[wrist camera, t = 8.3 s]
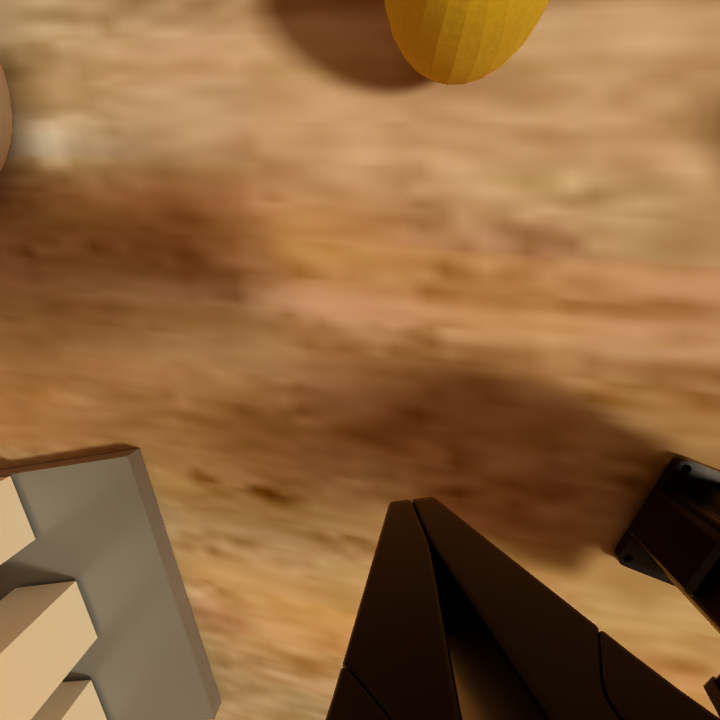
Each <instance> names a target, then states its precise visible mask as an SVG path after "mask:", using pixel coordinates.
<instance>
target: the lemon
mask: <svg viewBox="0 0 720 720" xmlns="http://www.w3.org/2000/svg"><path fill="white" fill-rule="evenodd" d="M384 1H385V9H386V13H387V17H388V21H389V25H390V29H391V32H392V36H393V38H394V40H395V42H396V44H397V46H398V48H399V50H400V51H401V53H402V55H403V57H404V59H405V60H406V61H407V62H408V63H409V64H410V65H411V66H412V67H413V68H414V69H415V70H416V71H417V72H418V73H419V74H421V75H423V76H424V77H426V78H428V79H430V80H431V81H435V82H438V83H442V84H446V85H453V84H465V83H468V82H472V81H475V80H478V79H481V78H483V77H485V76H486V75H488V74H490V73H491V72H493V71H495V70H496V69H498V68H499V67H501V66H502V65H503V64H504V63H505V62H506V61H507V60H508V59H509V58H510V57H511V56H512V55H513V54H514V53H515V52H516V51H517V50H518V49H519V48H520V47H521V46H522V45H523V43H524V42H525V41H526V39H527V38H528V36H529V35H530V33H531V32H532V30H533V28H534V27H535V25H536V24H537V22H538V21H539V19H540V17H541V16H542V14H543V12H544V10H545V8H546V6H547V4H548V1H549V0H384Z"/></svg>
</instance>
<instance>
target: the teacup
mask: <svg viewBox="0 0 720 720" xmlns="http://www.w3.org/2000/svg"><path fill="white" fill-rule="evenodd" d="M12 122H13V120H12V107H11V99H10V94H9V90H8V85H7V81H6V78H5V75H4V72H3V69H2V66H1V64H0V171H1V169H2V167H3V165H4V163H5V161H6V157H7V154H8V151H9V147H10V142H11V138H12Z"/></svg>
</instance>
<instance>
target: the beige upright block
mask: <svg viewBox="0 0 720 720" xmlns="http://www.w3.org/2000/svg"><path fill="white" fill-rule="evenodd" d="M34 540H35V537H34V534H33V532H32V529H31V527H30V524H29V522H28V519H27V517H26V514H25V511H24V509H23V506H22V504H21V501H20V499H19V496H18V494H17V491H16V489H15V486H14V484H13V481H12V479H11V476H7V477H1V478H0V565H1V564H2V563H4V562H5V561H7V560H8V559H9V558H11V557H12V556H13V555H15V554H16V553H17V552H19V551H20V550H21V549H23V548H24V547H26V546H27V545H28V544H30V543H31V542H32V541H34Z"/></svg>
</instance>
